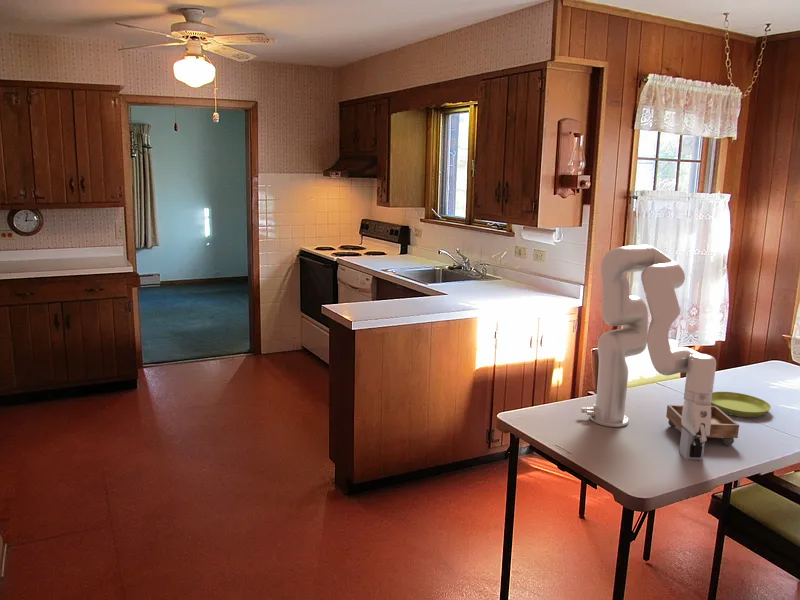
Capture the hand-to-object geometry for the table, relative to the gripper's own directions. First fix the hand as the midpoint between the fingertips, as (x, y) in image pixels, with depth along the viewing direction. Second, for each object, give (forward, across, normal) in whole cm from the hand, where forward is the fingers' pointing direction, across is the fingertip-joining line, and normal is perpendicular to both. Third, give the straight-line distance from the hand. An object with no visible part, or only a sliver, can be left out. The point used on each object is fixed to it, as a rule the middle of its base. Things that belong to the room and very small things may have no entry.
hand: (691, 452), depth 194 cm
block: (+1, 0, 0) cm, 1 cm away
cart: (+1, +15, -9) cm, 17 cm away
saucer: (+2, +40, -33) cm, 52 cm away
